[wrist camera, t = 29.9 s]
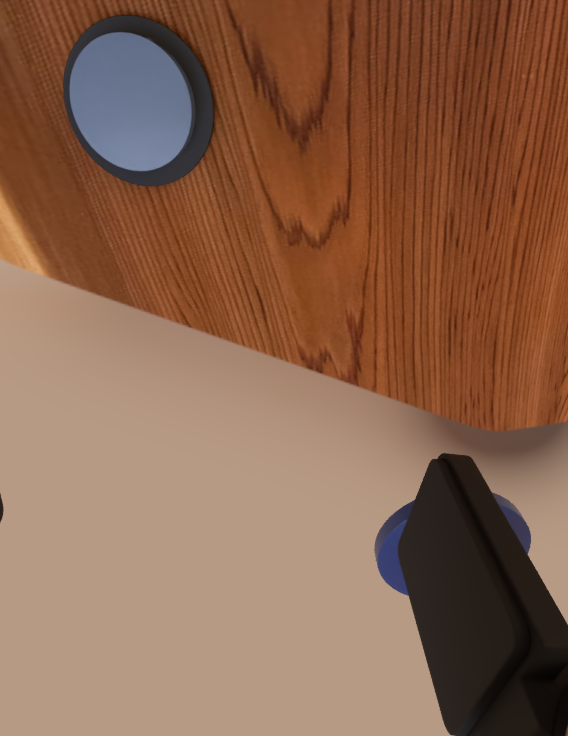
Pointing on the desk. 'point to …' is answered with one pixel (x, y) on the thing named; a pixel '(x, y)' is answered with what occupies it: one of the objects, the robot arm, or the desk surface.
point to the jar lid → (132, 101)
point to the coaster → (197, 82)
